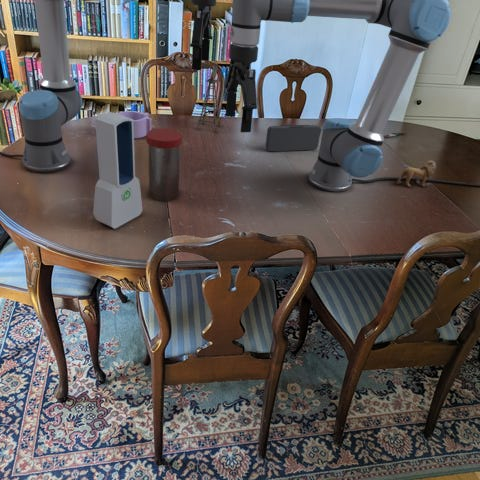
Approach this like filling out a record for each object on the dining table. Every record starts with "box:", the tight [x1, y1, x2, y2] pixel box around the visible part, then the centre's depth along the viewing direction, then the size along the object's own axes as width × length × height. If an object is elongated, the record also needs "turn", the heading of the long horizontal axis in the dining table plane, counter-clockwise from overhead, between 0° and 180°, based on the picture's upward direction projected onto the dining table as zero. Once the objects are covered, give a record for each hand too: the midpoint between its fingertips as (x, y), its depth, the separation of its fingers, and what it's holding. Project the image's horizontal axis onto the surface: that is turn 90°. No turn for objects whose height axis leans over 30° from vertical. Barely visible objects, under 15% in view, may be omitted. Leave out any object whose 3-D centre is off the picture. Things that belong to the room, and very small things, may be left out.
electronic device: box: [92, 111, 143, 230], centre depth 126 cm, size 12×8×30 cm, turn 148°
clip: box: [98, 110, 153, 139], centre depth 188 cm, size 20×12×7 cm, turn 109°
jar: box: [148, 144, 181, 202], centre depth 144 cm, size 9×9×20 cm
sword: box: [383, 132, 408, 139], centre depth 213 cm, size 31×3×1 cm, turn 126°
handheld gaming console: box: [264, 124, 322, 152], centre depth 189 cm, size 23×3×10 cm, turn 108°
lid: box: [145, 127, 183, 149], centre depth 139 cm, size 10×10×2 cm
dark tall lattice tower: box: [196, 56, 221, 133], centre depth 196 cm, size 9×8×30 cm
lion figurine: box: [396, 159, 436, 188], centre depth 171 cm, size 15×5×9 cm, turn 110°
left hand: (200, 65), depth 149 cm, fingers open, 13 cm apart
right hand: (237, 123), depth 133 cm, fingers open, 13 cm apart
